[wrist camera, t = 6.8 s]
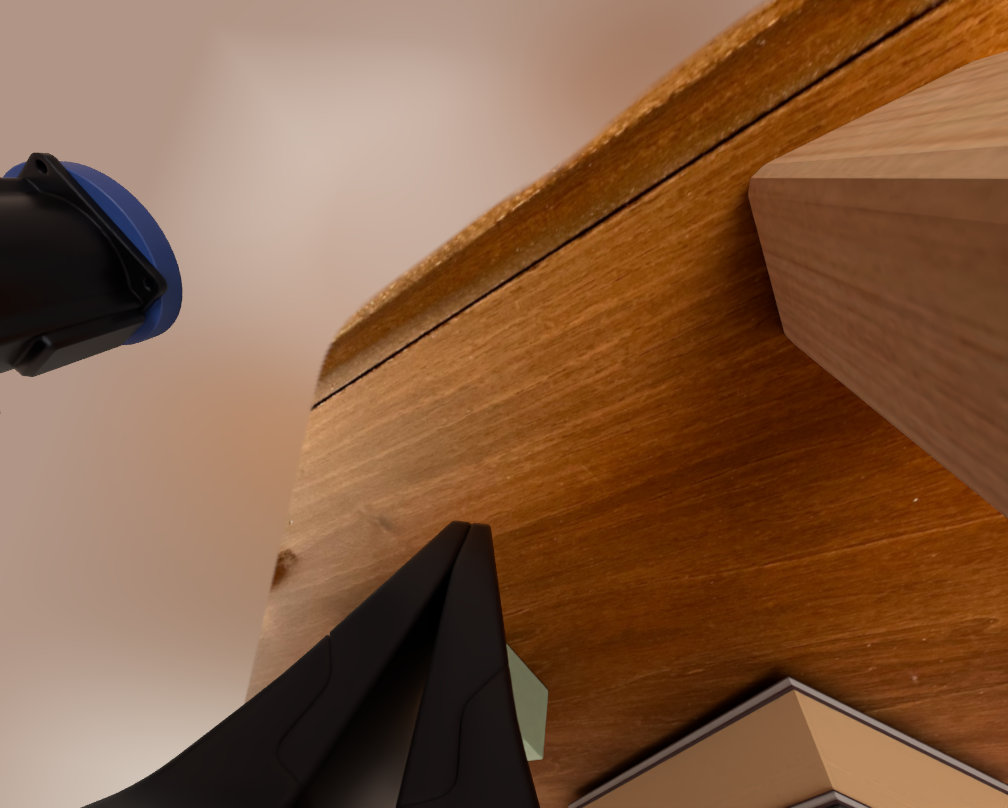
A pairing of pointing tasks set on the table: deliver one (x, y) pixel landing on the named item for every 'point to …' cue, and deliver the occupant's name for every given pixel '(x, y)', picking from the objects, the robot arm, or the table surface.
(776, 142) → the table surface
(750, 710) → the book
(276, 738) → the robot arm
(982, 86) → the decorative item
